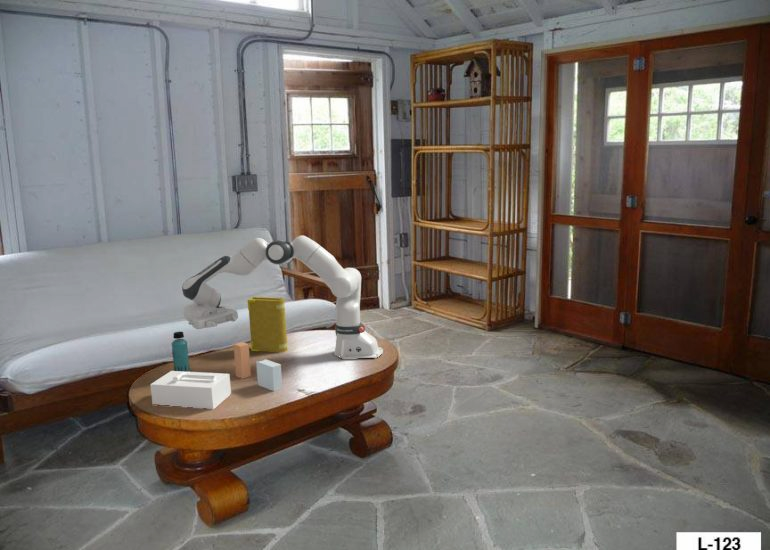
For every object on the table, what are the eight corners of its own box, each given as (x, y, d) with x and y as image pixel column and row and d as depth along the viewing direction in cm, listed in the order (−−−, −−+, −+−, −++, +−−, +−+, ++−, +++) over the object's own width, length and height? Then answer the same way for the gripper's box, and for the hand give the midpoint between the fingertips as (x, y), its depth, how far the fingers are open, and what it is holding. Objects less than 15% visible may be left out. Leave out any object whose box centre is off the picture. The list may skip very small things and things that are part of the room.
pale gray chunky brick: (257, 384, 249) (255, 361, 247) (265, 381, 252) (264, 358, 250) (274, 391, 241) (272, 366, 239) (282, 388, 244) (280, 364, 242)
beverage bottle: (185, 373, 264) (180, 329, 260) (194, 377, 260) (189, 331, 256) (171, 378, 259) (166, 332, 255) (180, 381, 255) (175, 335, 251)
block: (236, 375, 259) (233, 344, 256) (244, 373, 262) (241, 341, 259) (242, 378, 256) (240, 346, 253) (250, 375, 259) (248, 344, 256)
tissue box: (173, 391, 246) (170, 365, 243) (231, 394, 240) (228, 368, 238) (152, 405, 232) (149, 378, 230) (213, 409, 226) (210, 381, 224)
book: (251, 350, 292) (247, 299, 287) (258, 346, 298) (254, 296, 293) (283, 353, 287) (280, 301, 282) (289, 348, 293) (286, 297, 288)
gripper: (185, 315, 263) (202, 320, 254) (226, 305, 278) (244, 309, 268) (187, 329, 265) (204, 335, 255) (228, 318, 279) (245, 323, 270)
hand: (225, 321), depth 262 cm, fingers open, 8 cm apart
